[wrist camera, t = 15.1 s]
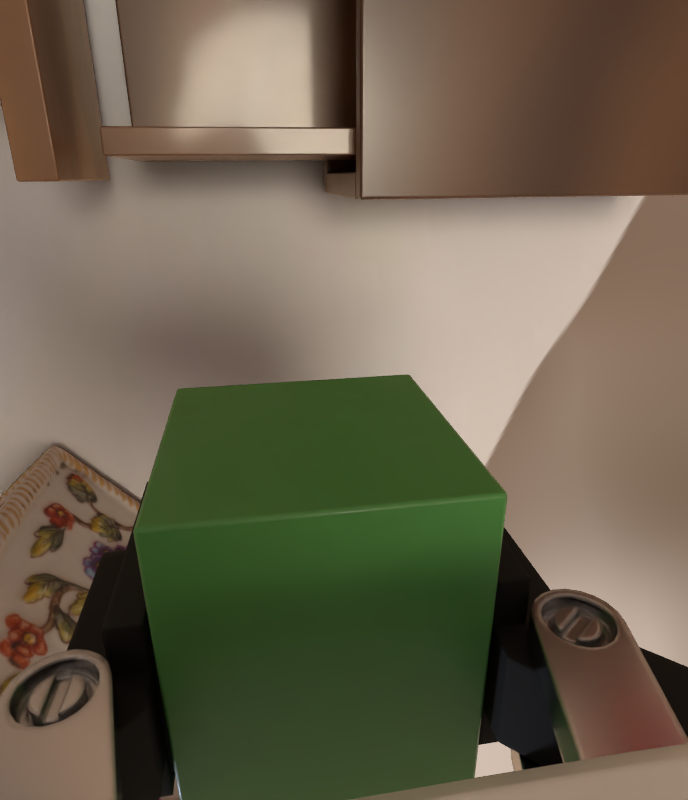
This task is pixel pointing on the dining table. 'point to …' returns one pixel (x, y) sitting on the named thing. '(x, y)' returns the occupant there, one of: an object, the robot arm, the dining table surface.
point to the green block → (318, 589)
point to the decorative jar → (54, 555)
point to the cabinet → (518, 99)
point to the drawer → (180, 84)
